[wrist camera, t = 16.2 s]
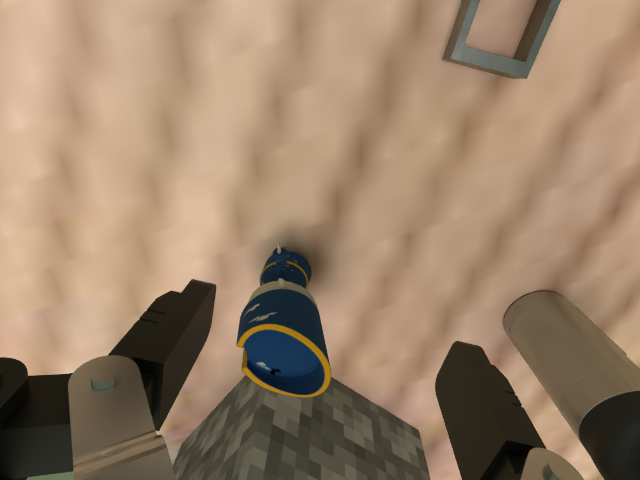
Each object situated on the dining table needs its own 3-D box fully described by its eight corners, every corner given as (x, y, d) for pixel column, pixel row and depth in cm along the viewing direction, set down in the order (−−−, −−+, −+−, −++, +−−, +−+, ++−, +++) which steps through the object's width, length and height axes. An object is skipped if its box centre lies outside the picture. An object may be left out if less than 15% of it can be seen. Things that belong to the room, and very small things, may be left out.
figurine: (255, 223, 46) (205, 316, 28) (327, 217, 46) (324, 310, 27) (270, 305, 52) (236, 429, 33) (334, 302, 51) (336, 426, 33)
